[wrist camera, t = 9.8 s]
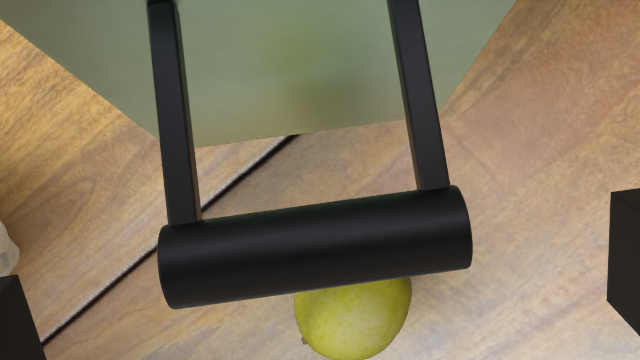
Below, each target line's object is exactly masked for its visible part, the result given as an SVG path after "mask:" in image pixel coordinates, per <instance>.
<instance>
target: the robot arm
mask: <svg viewBox="0 0 640 360" xmlns="http://www.w3.org/2000/svg"><path fill="white" fill-rule="evenodd" d="M607 301H608V302H609V304H610V305H611V306H612V307H613V308H614V309H615V310H616V311H617V312H618V313H619V314H620V315H621V316H622V317H623V319H624V320H625V321H626V322H627V323H628V324H629V325H630V326H631V327H632V328H633V329H634V330H635V331H636V332H637V334H638V335H639V336H640V188H638V189H630V190H623V191H616V192H611V202H610V229H609V255H608V281H607ZM0 360H46V357H45V354H44V351H43V348H42V345H41V342H40V339H39V336H38V333H37V330H36V327H35V324H34V321H33V318H32V315H31V312H30V309H29V306H28V303H27V301H26V298H25V295H24V292H23V289H22V286H21V283H20V280H19V277H18V275H10V276H3V277H0Z"/></svg>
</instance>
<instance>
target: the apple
mask: <svg viewBox="0 0 640 360" xmlns="http://www.w3.org/2000/svg"><path fill="white" fill-rule="evenodd" d="M411 295H412V286H411V280H410V277H404V278H397V279H390V280H383V281H376V282H369V283H361V284H354V285H347V286H340V287H333V288H326V289H318V290H311V291H304V292H297V293H295V298H294V305H295V314H296V320H297V324H298V326H299V329H300V331H301V333H302V335H303V337H302V338H301V339H302V342H303V344H305V345H306V344H308V345H309V346H310V347H311V348H312V349H313V350H314V351H315V352H317V353H318V354H320V355H322V356H324V357H327V358H329V359H333V360H364V359H368V358H370V357H373V356H375V355H376V354H378V353H380V352H381V351H383V350H384V349H385V348H386V347H387V346H388V345H389V344H390V343H391V342H392V341H393V339H394V338H395V337H396V335H397V334H398V332H399V331H400V329H401V328H402V326H403V324H404V322H405V319H406V317H407V313H408V310H409V306H410V302H411Z"/></svg>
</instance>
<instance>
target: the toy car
mask: <svg viewBox="0 0 640 360" xmlns="http://www.w3.org/2000/svg"><path fill="white" fill-rule="evenodd" d="M18 260H19V248H18V247H17V246H16V245H15V244H14V242H13V241H12V240H11V239H10V238H9V236H8V233H7V230H6V227H5V226H4V224H3V223H2V222H1V220H0V277H3V276H7V275H9V273H10V272H11V271H12V270H13V269H14V267H15V266H16V265H17V263H18Z"/></svg>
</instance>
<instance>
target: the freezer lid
mask: <svg viewBox="0 0 640 360" xmlns="http://www.w3.org/2000/svg"><path fill="white" fill-rule="evenodd" d="M515 2H516V0H0V20H2V21H3V22H4V23H6V24H7V25H8V26H9V27H11V28H12V29H13V30H15V31H16V32H17V33H19V34H20V35H21V36H23V37H24V38H25V39H27V40H28V41H29V42H30V43H32V44H33V45H34V46H36V47H37V48H38V49H40V50H41V51H42V52H44V53H45V54H46V55H48V56H49V57H50V58H52V59H53V60H54V61H55V62H57V63H58V64H59V65H61V66H62V67H63V68H65V69H66V70H67V71H69V72H70V73H71V74H73V75H74V76H75V77H77V78H78V79H79V80H80V81H82V82H83V83H84V84H86V85H87V86H88V87H90V88H91V89H92V90H94V91H95V92H96V93H98V94H99V95H100V96H101V97H103V98H104V99H105V100H107V101H108V102H109V103H111V104H112V105H113V106H115V107H116V108H117V109H119V110H120V111H121V112H123V113H124V114H125V115H126V116H128V117H129V118H130V119H132V120H133V121H134V122H136V123H137V124H138V125H140V126H141V127H142V128H144V129H145V130H146V131H148V132H149V133H150V134H151V135H153V136H154V137H155V138H157V139H158V140H159V141H160V149H161V159H162V168H163V178H164V188H165V198H166V208H167V218H168V225H165V226H163V227H162V228H161V230H160V233H159V238H158V247H157V260H158V271H159V278H160V283H161V287H162V291H163V294H164V297H165V299H166V302H167V304H168V305H169V307H170V308H172V309H183V308H190V307H197V306H204V305H211V304H218V303H225V302H233V301H240V300H247V299H254V298H261V297H268V296H276V295H283V294H290V293H297V292H304V291H311V290H318V289H326V288H333V287H340V286H347V285H354V284H361V283H369V282H376V281H383V280H390V279H397V278H404V277H412V276H419V275H426V274H433V273H440V272H447V271H454V270H462V269H467V268H469V267H470V265H471V262H472V254H473V243H472V232H471V225H470V220H469V215H468V211H467V207H466V204H465V201H464V198H463V196H462V194H461V192H460V190H459V188H458V187H457V186H455V185H450V181H449V175H448V169H447V163H446V157H445V151H444V146H443V140H442V134H441V128H440V122H439V116H438V113H439V112H440V110H441V109H442V107H443V106H444V104H445V103H446V102H447V100H448V99H449V97H450V96H451V94H452V93H453V91H454V90H455V89H456V87H457V86H458V84H459V83H460V81H461V80H462V78H463V77H464V76H465V74H466V73H467V71H468V70H469V68H470V67H471V65H472V64H473V63H474V61H475V60H476V58H477V57H478V55H479V54H480V52H481V51H482V50H483V48H484V47H485V45H486V44H487V42H488V41H489V39H490V38H491V37H492V35H493V34H494V32H495V31H496V29H497V28H498V26H499V25H500V24H501V22H502V21H503V19H504V18H505V16H506V15H507V13H508V12H509V11H510V9H511V8H512V6H513V5H514V3H515ZM402 119H406V123H407V130H408V136H409V142H410V148H411V154H412V160H413V166H414V172H415V179H416V185H417V190H413V191H406V192H399V193H392V194H385V195H377V196H370V197H363V198H356V199H349V200H341V201H334V202H327V203H320V204H313V205H306V206H298V207H291V208H284V209H277V210H270V211H262V212H255V213H248V214H241V215H234V216H226V217H219V218H212V219H205V220H202V215H201V206H200V197H199V187H198V178H197V169H196V160H195V151H194V148H200V147H207V146H214V145H222V144H229V143H236V142H243V141H251V140H258V139H265V138H272V137H279V136H287V135H294V134H301V133H308V132H315V131H323V130H330V129H337V128H344V127H352V126H359V125H366V124H373V123H380V122H388V121H395V120H402Z"/></svg>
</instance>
